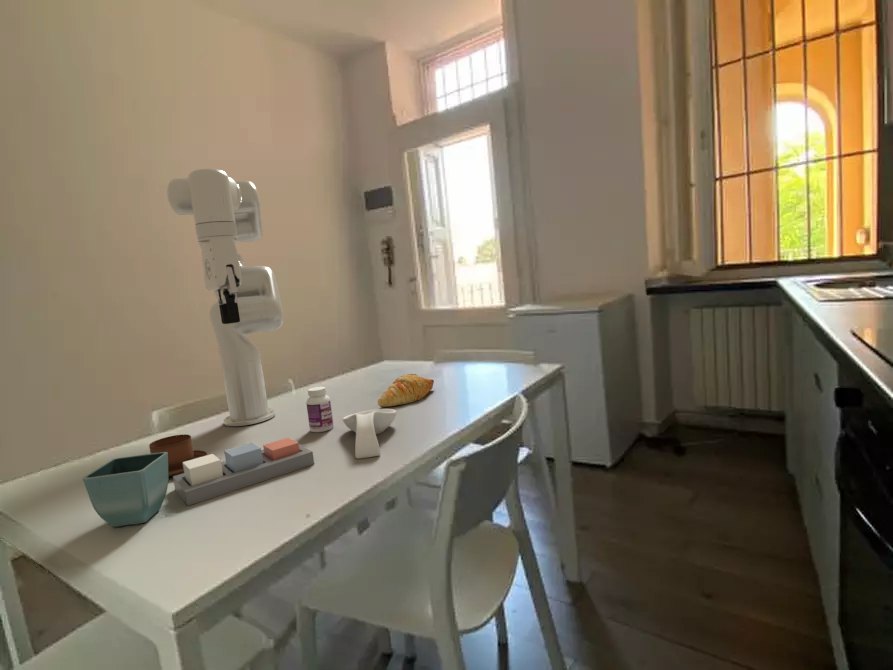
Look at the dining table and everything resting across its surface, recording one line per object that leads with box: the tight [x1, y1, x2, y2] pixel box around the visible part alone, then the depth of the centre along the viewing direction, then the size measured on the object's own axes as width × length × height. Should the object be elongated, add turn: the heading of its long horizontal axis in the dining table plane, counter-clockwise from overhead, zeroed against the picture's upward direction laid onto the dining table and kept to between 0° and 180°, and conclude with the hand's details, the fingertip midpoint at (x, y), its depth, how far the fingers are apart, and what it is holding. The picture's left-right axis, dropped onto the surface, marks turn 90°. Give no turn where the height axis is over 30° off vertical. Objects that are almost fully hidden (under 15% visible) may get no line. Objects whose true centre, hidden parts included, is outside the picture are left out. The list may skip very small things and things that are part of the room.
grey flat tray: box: [172, 444, 315, 507], centre depth 96 cm, size 10×22×2 cm, turn 129°
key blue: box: [223, 442, 263, 472], centre depth 95 cm, size 5×5×3 cm
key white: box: [183, 453, 223, 486], centre depth 91 cm, size 5×5×3 cm
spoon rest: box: [342, 408, 397, 459], centre depth 110 cm, size 24×12×7 cm, turn 7°
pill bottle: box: [305, 386, 334, 433], centre depth 120 cm, size 5×5×10 cm
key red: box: [262, 437, 300, 461], centre depth 100 cm, size 5×5×3 cm
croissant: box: [377, 373, 435, 408], centre depth 141 cm, size 21×10×8 cm, turn 142°
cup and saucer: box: [148, 434, 208, 478], centre depth 103 cm, size 12×12×6 cm
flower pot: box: [82, 452, 169, 528], centre depth 82 cm, size 9×9×9 cm
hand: (231, 322), depth 108 cm, fingers closed
